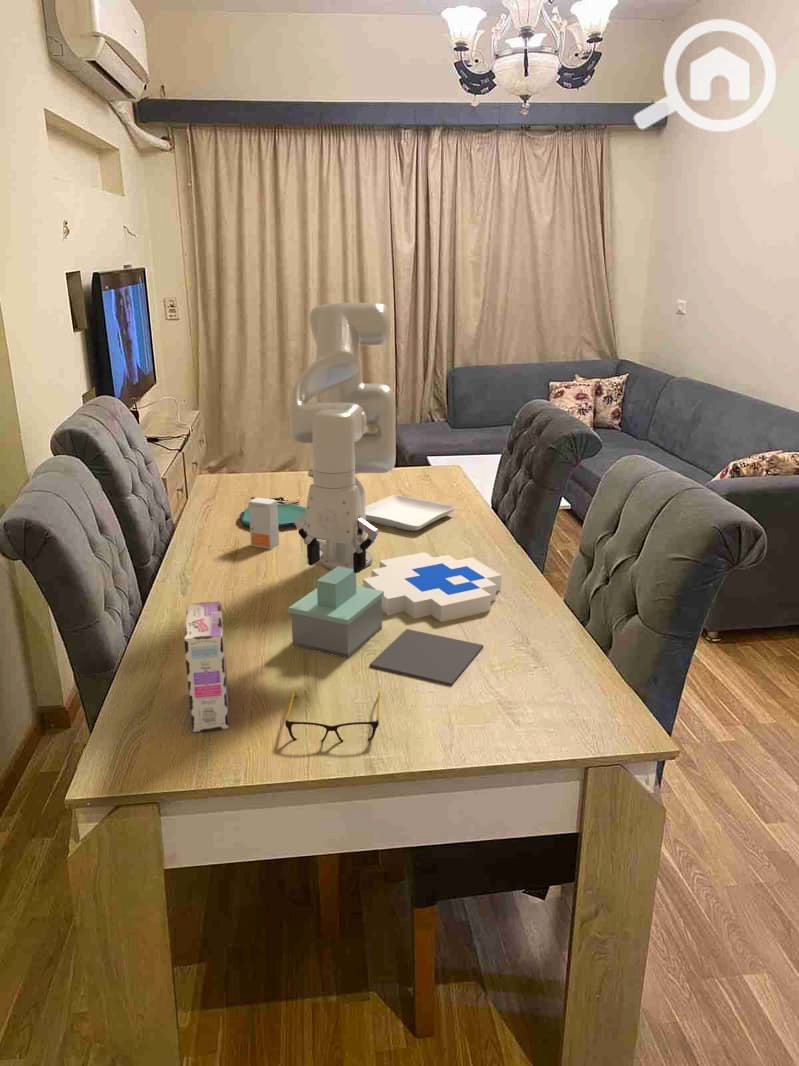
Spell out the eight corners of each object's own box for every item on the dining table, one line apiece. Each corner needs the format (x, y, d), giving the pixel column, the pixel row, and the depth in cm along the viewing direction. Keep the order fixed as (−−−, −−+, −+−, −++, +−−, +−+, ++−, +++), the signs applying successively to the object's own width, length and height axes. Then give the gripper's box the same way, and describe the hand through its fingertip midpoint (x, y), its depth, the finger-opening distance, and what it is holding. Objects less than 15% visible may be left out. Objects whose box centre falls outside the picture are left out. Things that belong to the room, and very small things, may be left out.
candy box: (229, 729, 129) (222, 635, 124) (191, 734, 128) (182, 639, 123) (228, 686, 142) (221, 599, 136) (193, 689, 141) (185, 602, 135)
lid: (289, 612, 154) (287, 582, 152) (328, 584, 166) (327, 557, 164) (348, 625, 149) (347, 594, 147) (383, 595, 161) (383, 567, 159)
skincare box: (250, 546, 208) (247, 501, 204) (259, 541, 211) (256, 496, 207) (271, 549, 205) (269, 504, 201) (279, 544, 209) (277, 499, 205)
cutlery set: (236, 533, 218) (236, 524, 217) (244, 501, 246) (244, 494, 245) (312, 531, 220) (312, 523, 219) (311, 500, 248) (311, 493, 247)
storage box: (292, 645, 156) (291, 612, 154) (329, 617, 168) (328, 585, 166) (348, 658, 151) (347, 624, 149) (381, 628, 163) (381, 596, 161)
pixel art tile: (454, 546, 197) (522, 587, 174) (453, 562, 199) (521, 605, 175) (347, 566, 185) (406, 613, 162) (348, 582, 186) (406, 632, 163)
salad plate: (457, 516, 232) (457, 504, 231) (418, 537, 215) (418, 525, 214) (394, 504, 243) (394, 493, 242) (352, 523, 226) (352, 511, 225)
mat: (369, 666, 149) (369, 664, 148) (406, 631, 162) (406, 628, 162) (451, 685, 142) (451, 683, 142) (483, 647, 156) (483, 645, 156)
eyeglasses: (285, 746, 126) (284, 723, 124) (296, 697, 139) (295, 676, 138) (378, 746, 126) (378, 724, 124) (380, 697, 139) (380, 676, 138)
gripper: (282, 478, 149) (286, 566, 155) (367, 488, 142) (368, 580, 148) (304, 469, 156) (307, 554, 161) (386, 479, 149) (386, 567, 154)
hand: (336, 566), depth 154 cm, fingers open, 9 cm apart
